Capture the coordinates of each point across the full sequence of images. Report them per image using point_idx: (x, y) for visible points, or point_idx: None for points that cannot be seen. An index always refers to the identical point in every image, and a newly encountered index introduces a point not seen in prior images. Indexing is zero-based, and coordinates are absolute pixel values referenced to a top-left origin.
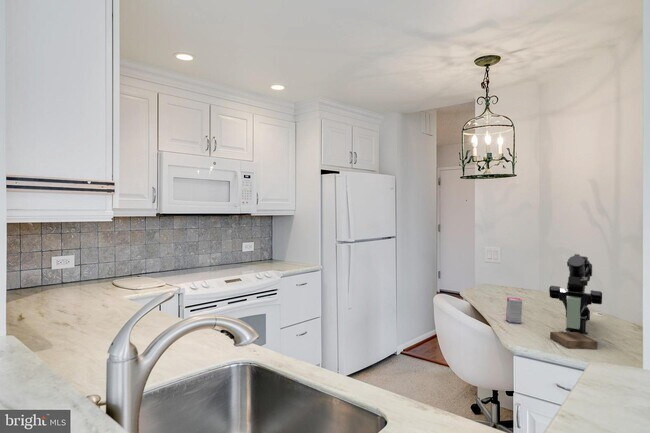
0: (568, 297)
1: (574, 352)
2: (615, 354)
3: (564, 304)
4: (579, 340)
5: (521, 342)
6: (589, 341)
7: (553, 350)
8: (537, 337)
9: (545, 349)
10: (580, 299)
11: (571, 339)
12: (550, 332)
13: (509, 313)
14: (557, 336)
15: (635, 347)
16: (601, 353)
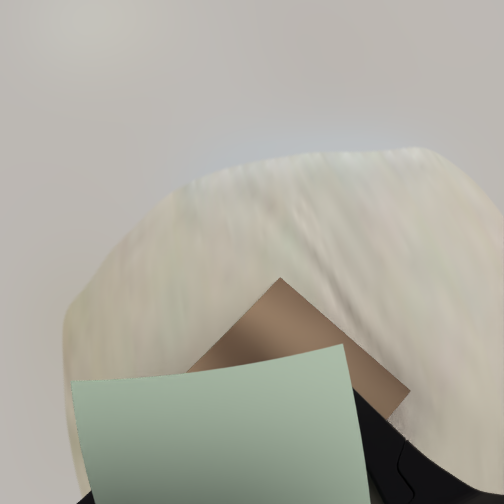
0: (342, 455)
1: (240, 255)
2: (113, 370)
3: (386, 431)
4: (232, 344)
5: (439, 205)
6: (189, 369)
7: (312, 208)
8: (444, 349)
9: (339, 194)
10: (87, 453)
11: (270, 326)
12: (407, 389)
13: None
14: (352, 340)
15: None
16: (152, 340)
